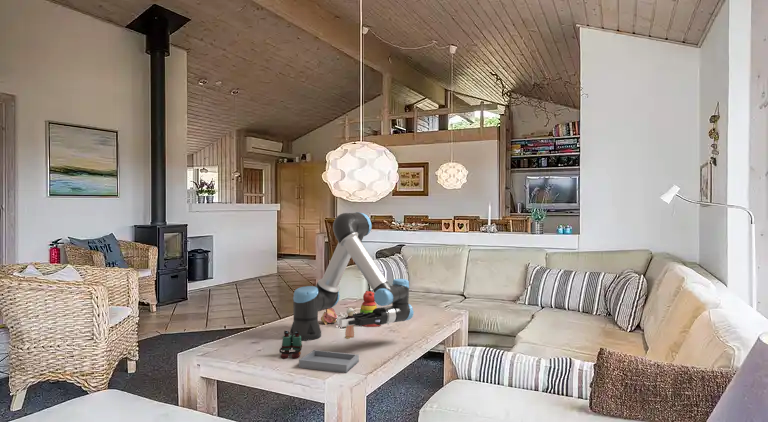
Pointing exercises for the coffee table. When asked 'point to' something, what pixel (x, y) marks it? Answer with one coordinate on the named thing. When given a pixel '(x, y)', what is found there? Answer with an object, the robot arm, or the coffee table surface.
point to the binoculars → (291, 345)
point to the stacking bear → (368, 305)
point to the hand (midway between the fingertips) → (339, 322)
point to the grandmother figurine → (350, 329)
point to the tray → (329, 361)
